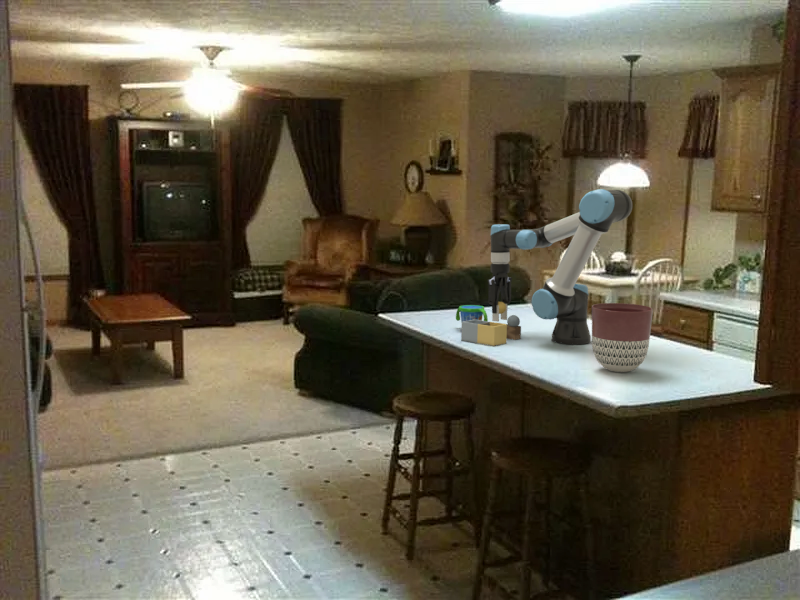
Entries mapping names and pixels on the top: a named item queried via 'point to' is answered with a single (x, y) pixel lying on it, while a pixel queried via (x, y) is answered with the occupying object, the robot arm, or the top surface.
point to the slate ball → (513, 321)
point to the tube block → (484, 332)
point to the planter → (620, 335)
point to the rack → (513, 332)
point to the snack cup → (471, 313)
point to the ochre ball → (501, 307)
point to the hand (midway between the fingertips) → (499, 320)
